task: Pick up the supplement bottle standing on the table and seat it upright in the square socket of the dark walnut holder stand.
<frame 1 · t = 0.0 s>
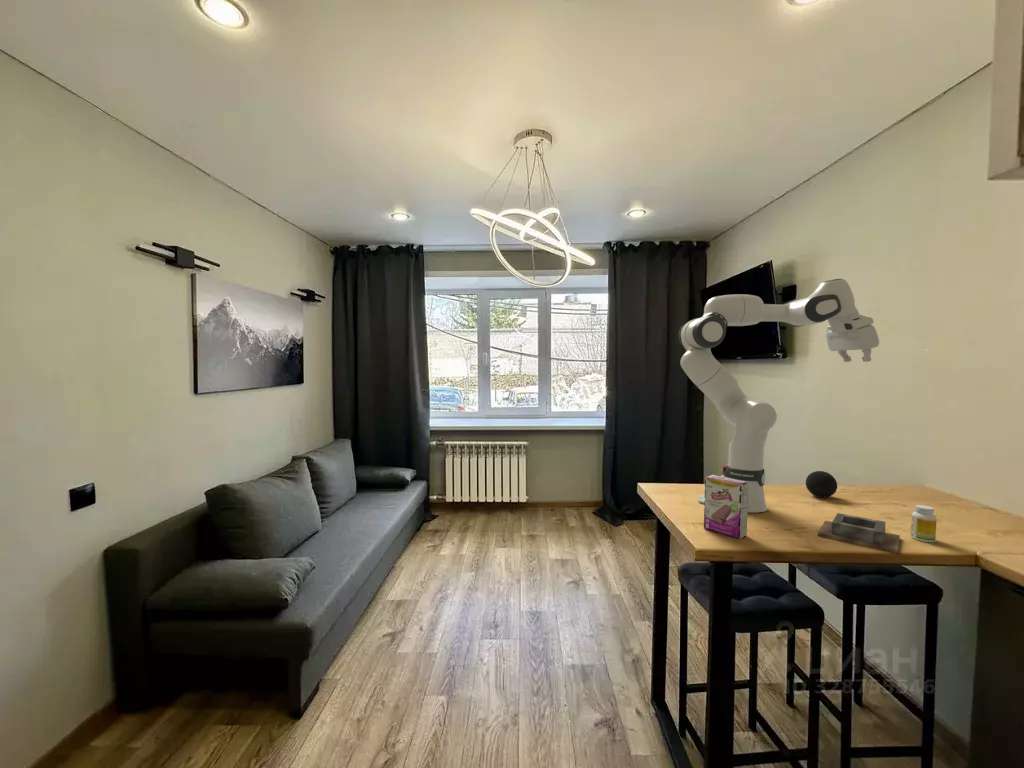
hand: (857, 361, 156), 52 cm above the table, tool tilted 20°, fingers open, 8 cm apart
supplement bottle: (922, 540, 130), on the table
holder stand: (858, 537, 131), on the table
candy bar box: (724, 533, 135), on the table
speaker: (820, 497, 172), on the table
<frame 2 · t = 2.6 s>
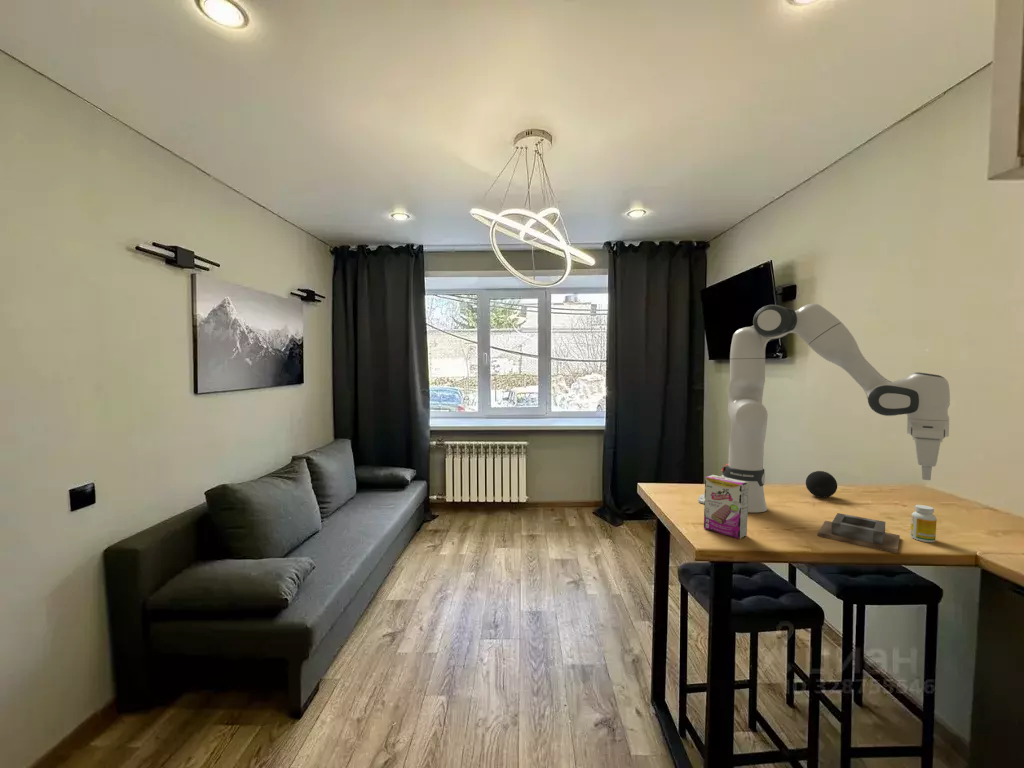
hand: (926, 476, 129), 18 cm above the table, tool pointing down, fingers open, 8 cm apart
nothing on the table moved.
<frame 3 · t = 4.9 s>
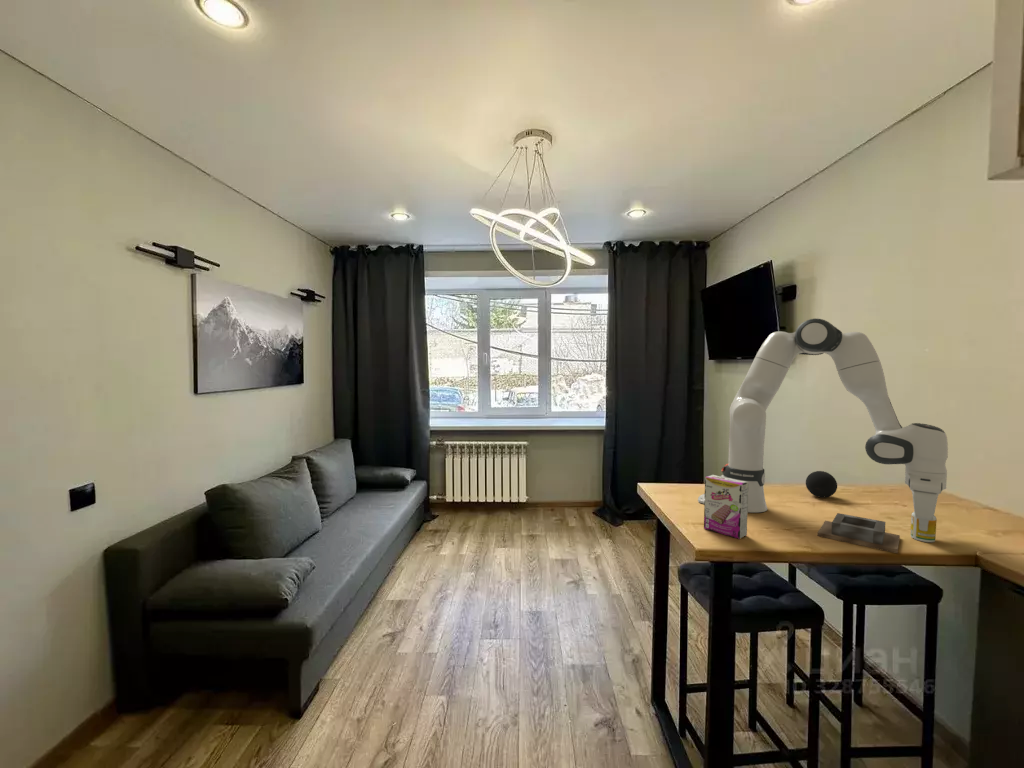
hand: (923, 527, 130), 4 cm above the table, tool pointing down, fingers closed on supplement bottle, 5 cm apart
supplement bottle: (922, 539, 130), on the table, touching gripper
everything else where it was.
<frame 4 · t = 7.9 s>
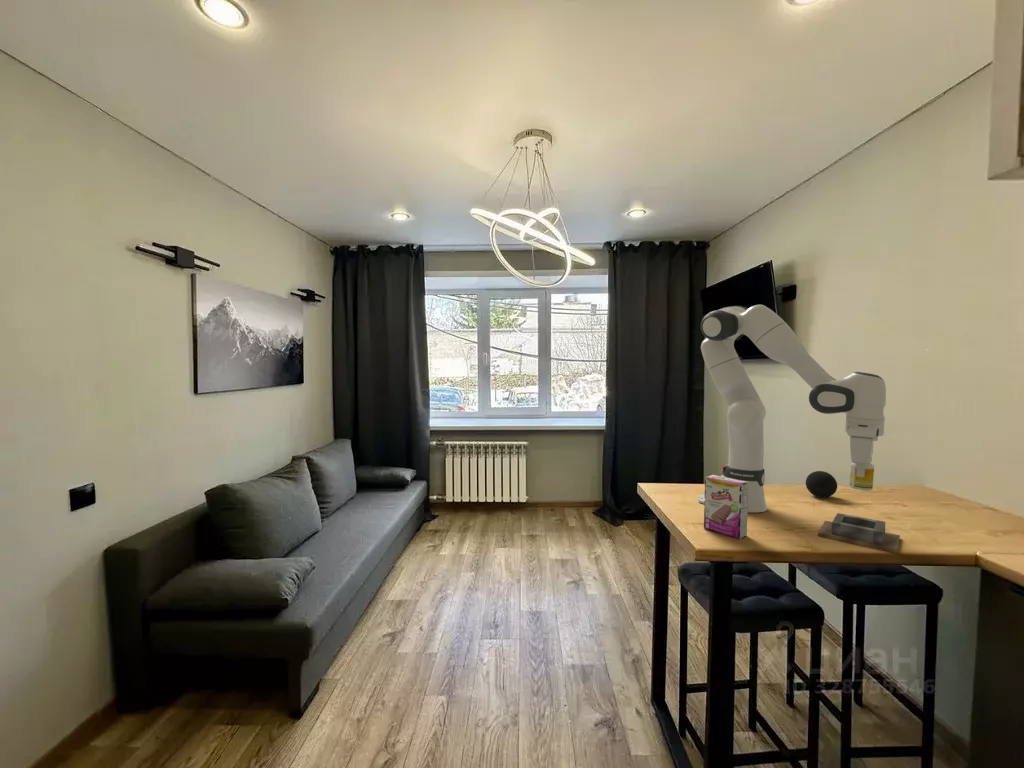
hand: (861, 474, 131), 19 cm above the table, tool pointing down, fingers closed on supplement bottle, 5 cm apart
supplement bottle: (860, 489, 131), point 14 cm above the table, touching gripper
everything else where it was.
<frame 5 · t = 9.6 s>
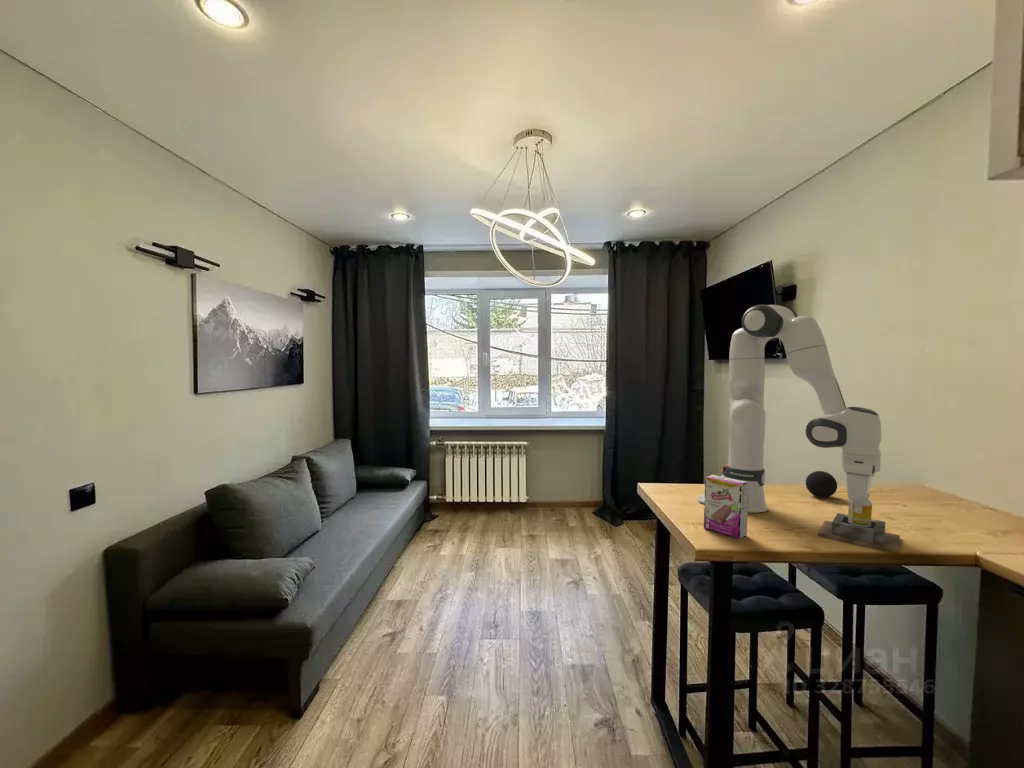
hand: (859, 509, 131), 8 cm above the table, tool pointing down, fingers closed on supplement bottle, 5 cm apart
supplement bottle: (859, 525, 131), point 4 cm above the table, touching gripper
everything else where it was.
when the fingers open (6 cm above the table, at t = 10.9 s): supplement bottle stays where it is, resting on holder stand.
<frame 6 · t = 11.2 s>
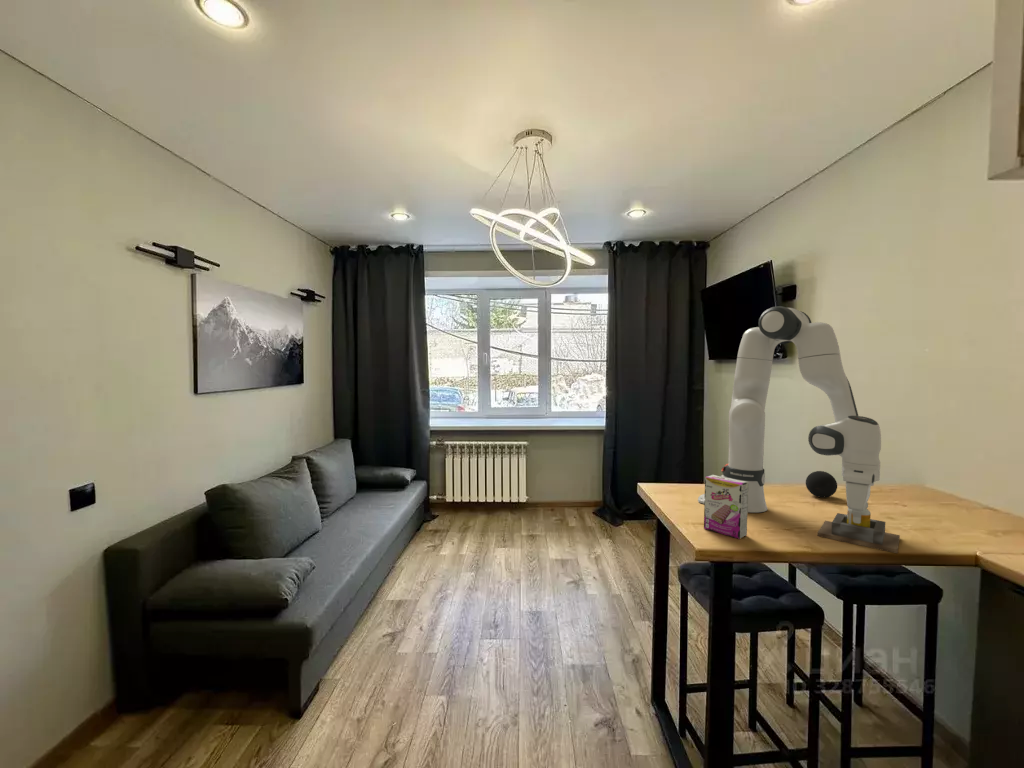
hand: (858, 518, 131), 6 cm above the table, tool pointing down, fingers open, 8 cm apart
supplement bottle: (858, 534, 131), point 1 cm above the table, touching holder stand
everything else where it was.
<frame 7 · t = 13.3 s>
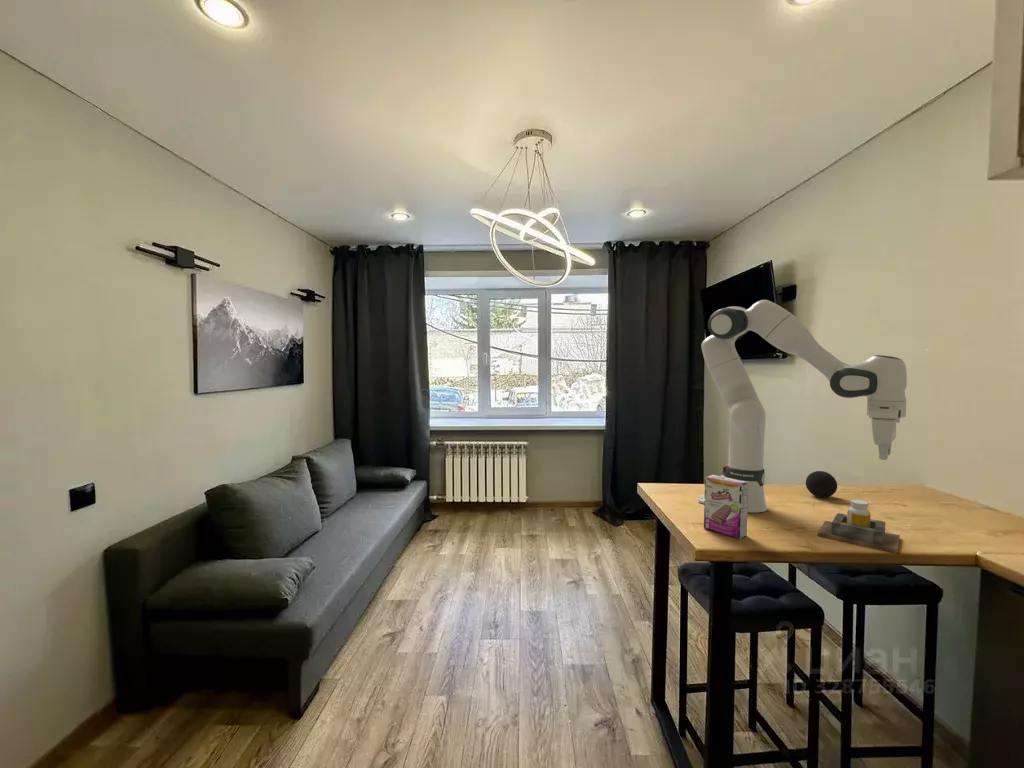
hand: (884, 457, 132), 24 cm above the table, tool pointing down, fingers open, 8 cm apart
nothing on the table moved.
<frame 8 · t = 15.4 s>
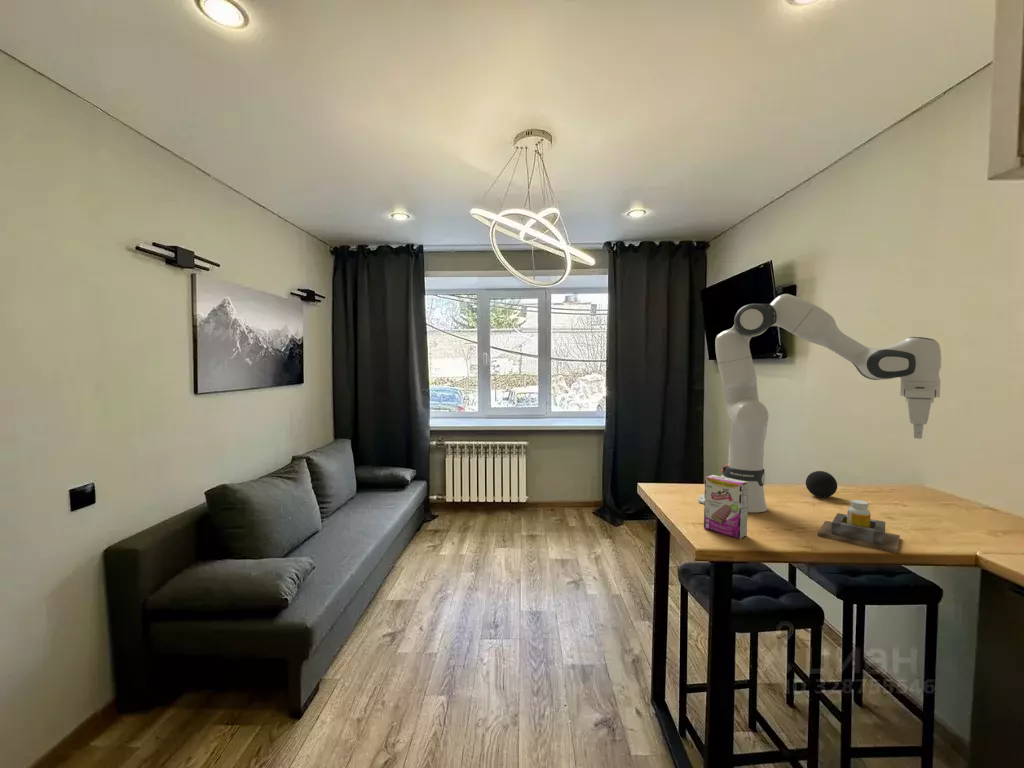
hand: (918, 436, 135), 29 cm above the table, tool pointing down, fingers open, 8 cm apart
nothing on the table moved.
at the end: supplement bottle 0.1 cm off-centre on the holder stand, point 0.8 cm above the holder stand's base; supplement bottle tilted 0°; the gripper is holding nothing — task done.
